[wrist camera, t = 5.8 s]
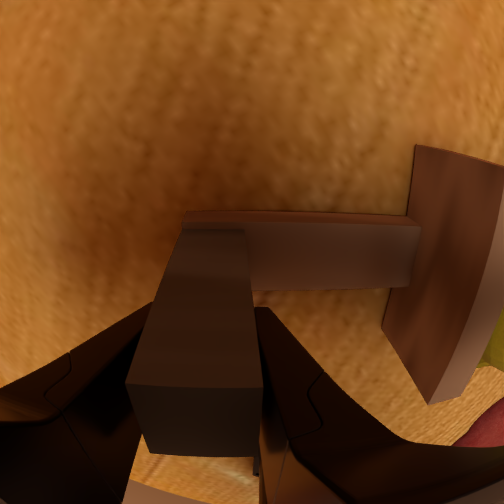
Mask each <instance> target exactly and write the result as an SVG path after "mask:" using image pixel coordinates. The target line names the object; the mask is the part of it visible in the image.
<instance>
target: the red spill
mask: <svg viewBox="0 0 504 504" xmlns="http://www.w3.org/2000/svg"><path fill="white" fill-rule="evenodd" d="M503 445H504V397H503V398H502V399H500V400H499V401H497V402H496V403H495V404H493V405H492V406H491V407H490V408H489V409H487V410H486V411H485V412H484V413H483V414H482V415H481V416H480V417H479V418H478V419H477V420H476V421H475V422H474V423H473V425H472V426H471V427H470V429H469V430H468V432H467V433H466V434H465V435H463V436H462V437H461V438H459V439H458V440H457V441H456V442H455V443H454V444H453V445H451V446H460V447H496V446H503Z"/></svg>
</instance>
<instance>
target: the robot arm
mask: <svg viewBox="0 0 504 504" xmlns="http://www.w3.org/2000/svg"><path fill="white" fill-rule="evenodd" d="M152 304H153V302H150V303H148V304H147V305H145V306H143V307H142V308H140V309H138V310H137V311H135V312H133V313H132V314H130V315H128V316H127V317H125V318H123V319H122V320H120V321H118V322H117V323H115V324H113V325H112V326H110V327H108V328H107V329H105V330H104V331H102V332H100V333H99V334H97V335H95V336H94V337H92V338H90V339H89V340H87V341H85V342H84V343H82V344H80V345H79V346H77V347H75V348H74V349H72V350H71V351H70V353H69V352H67V353H66V354H64V355H62V356H61V357H59V358H57V359H56V360H54V361H52V362H50V363H49V364H47V365H45V366H43V367H42V368H40V369H38V370H36V371H34V372H32V373H30V374H28V375H26V376H24V377H22V378H20V379H18V380H16V381H14V382H12V383H10V384H8V385H6V386H4V387H2V388H0V504H122V503H121V502H123V498H124V494H125V491H126V487H127V483H128V480H129V476H130V473H131V469H132V466H133V462H134V459H135V455H136V452H137V449H138V445H139V442H140V438H141V435H142V431H141V429H140V426H139V423H138V420H137V418H136V415H135V412H134V409H133V406H132V403H131V400H130V397H129V394H128V391H127V388H126V385H125V381H126V378H127V375H128V372H129V369H130V366H131V363H132V360H133V357H134V354H135V351H136V348H137V345H138V343H139V340H140V337H141V334H142V331H143V328H144V326H145V323H146V320H147V317H148V315H149V312H150V309H151V306H152ZM254 314H255V322H256V330H257V339H258V347H259V355H260V363H261V371H262V379H263V400H262V412H261V424H260V436H259V448H258V456H256V457H254V462H253V475H254V476H257V477H259V504H504V445H503V446H496V447H460V446H445V445H433V444H422V443H415V442H411V441H407V440H405V439H403V438H401V437H399V436H397V435H396V434H394V433H393V432H392V431H390V430H389V429H388V428H386V427H385V426H384V425H383V424H382V423H380V422H379V421H378V420H377V419H375V418H374V417H373V416H372V415H371V414H369V413H368V412H367V411H366V410H365V409H363V408H362V407H361V406H360V405H359V404H358V403H356V402H355V401H354V400H353V399H352V398H351V397H350V396H349V395H347V394H346V393H345V392H344V391H343V390H342V389H341V388H340V387H339V386H338V385H337V384H336V383H335V382H334V381H333V379H332V378H331V377H330V376H329V375H328V374H327V373H326V372H324V370H323V368H322V367H321V366H320V365H319V364H318V363H317V362H316V361H315V359H314V358H313V357H312V356H311V355H310V354H309V353H308V352H307V350H306V349H305V348H304V347H303V346H302V345H301V344H300V343H299V341H298V340H297V339H296V338H295V337H294V336H293V335H292V333H291V332H290V331H289V330H288V329H287V328H286V327H285V325H284V324H283V323H282V322H281V321H280V320H279V319H278V317H277V316H276V315H275V314H274V313H273V312H272V311H271V309H270V308H268V307H255V308H254Z"/></svg>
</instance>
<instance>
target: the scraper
mask: <svg viewBox="0 0 504 504" xmlns="http://www.w3.org/2000/svg"><path fill="white" fill-rule="evenodd" d="M391 287H392V290H391V294H390V298H389V302H388V306H387V310H386V314H385V317H384V321H383V325H382V328H381V329H382V330H383V332H384V333H385V335H386V337H387V338H388V340H389V341H390V343H391V345H392V346H393V348H394V349H395V351H396V353H397V354H398V356H399V358H400V359H401V361H402V363H403V364H404V366H405V368H406V369H407V371H408V373H409V374H410V376H411V378H412V379H413V381H414V383H415V384H416V386H417V388H418V389H419V391H420V393H421V395H422V396H423V398H424V400H425V402H426V403H427V405H431V404H435V403H438V402H442V401H446V400H449V399H453V398H456V397H459V396H461V394H462V393H463V391H464V389H465V387H466V386H467V384H468V382H469V380H470V378H471V376H472V374H473V373H474V371H475V369H476V367H477V365H478V363H479V361H480V359H481V357H482V355H483V353H484V351H485V349H486V346H487V344H488V342H489V340H490V338H491V335H492V333H493V331H494V329H495V326H496V324H497V322H498V319H499V317H500V314H501V312H502V309H503V307H504V166H502V165H499V164H495V163H492V162H489V161H485V160H482V159H478V158H475V157H471V156H468V155H464V154H460V153H456V152H452V151H448V150H443V149H438V148H433V147H428V146H422V145H417V144H416V150H415V160H414V168H413V177H412V184H411V192H410V199H409V205H408V212H407V216H391V215H371V214H347V213H317V212H274V211H187V212H186V214H185V216H184V218H183V220H182V231H181V233H180V235H179V238H178V240H177V243H176V245H175V248H174V250H173V252H172V255H171V257H170V260H169V262H168V265H167V267H166V270H165V272H164V275H163V278H162V280H161V283H160V285H159V288H158V291H157V293H156V296H155V298H154V301H153V304H152V306H151V309H150V312H149V315H148V317H147V320H146V323H145V326H144V328H143V331H142V334H141V337H140V340H139V343H138V345H137V348H136V351H135V354H134V357H133V360H132V363H131V366H130V369H129V372H128V375H127V378H126V381H125V385H126V388H127V391H128V394H129V397H130V400H131V403H132V406H133V409H134V412H135V415H136V418H137V420H138V423H139V426H140V429H141V431H142V434H143V436H144V439H145V442H146V444H147V447H148V449H149V452H150V453H154V454H165V455H178V456H197V457H256V456H258V448H259V436H260V424H261V412H262V400H263V379H262V371H261V363H260V355H259V347H258V339H257V330H256V322H255V314H254V306H253V297H252V291H291V290H336V289H366V288H391Z"/></svg>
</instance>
